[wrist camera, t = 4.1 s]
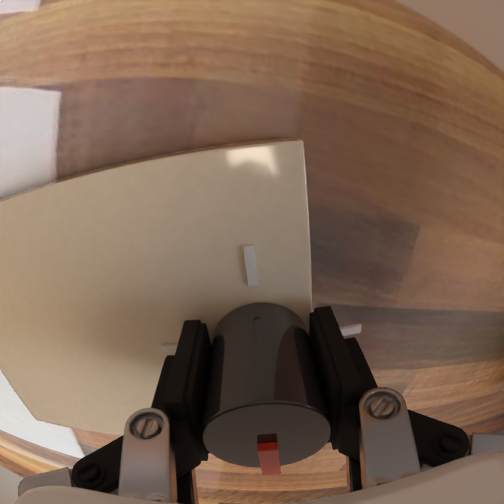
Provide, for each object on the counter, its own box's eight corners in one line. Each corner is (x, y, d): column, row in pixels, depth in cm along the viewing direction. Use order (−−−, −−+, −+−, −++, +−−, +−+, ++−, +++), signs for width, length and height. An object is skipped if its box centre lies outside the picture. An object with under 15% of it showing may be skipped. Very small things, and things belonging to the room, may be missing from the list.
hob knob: (204, 306, 11) (183, 415, 6) (307, 295, 11) (341, 401, 6) (221, 377, 12) (214, 477, 8) (308, 369, 12) (329, 467, 7)
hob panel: (-29, 210, 12) (-64, 228, 9) (336, 135, 11) (364, 138, 8) (51, 392, 17) (35, 422, 14) (334, 388, 17) (345, 428, 14)
